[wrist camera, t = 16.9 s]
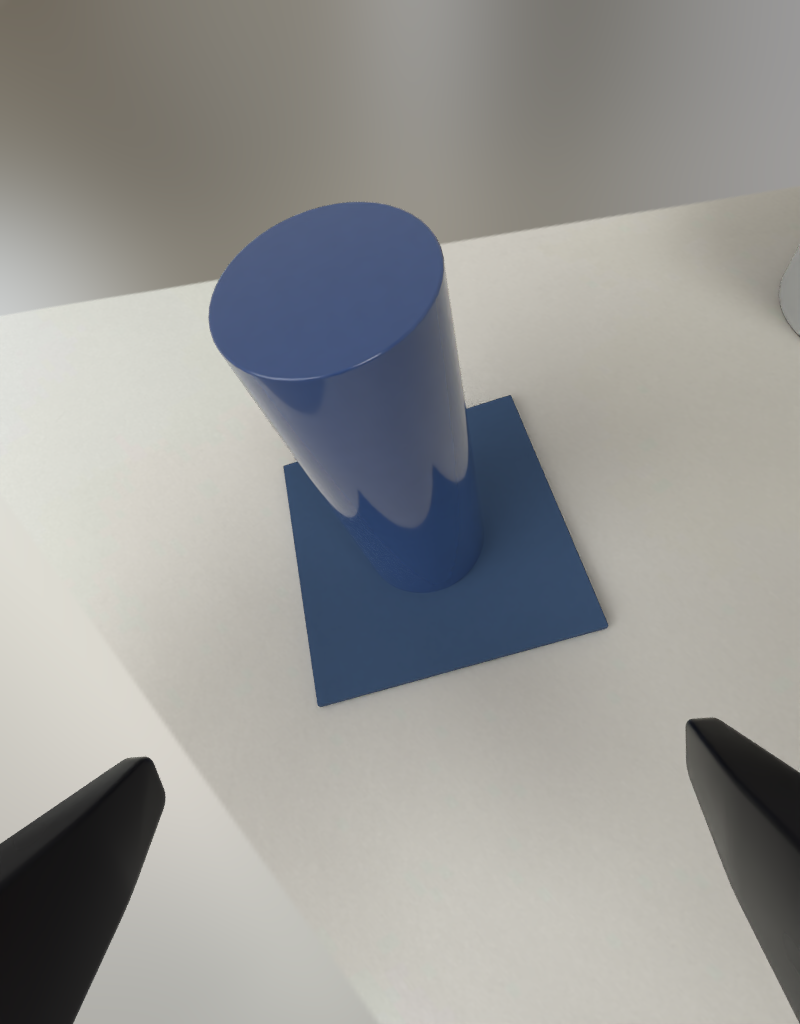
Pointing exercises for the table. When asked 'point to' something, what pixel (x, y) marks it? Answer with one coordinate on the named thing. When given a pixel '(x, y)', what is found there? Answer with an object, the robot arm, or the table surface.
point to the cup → (791, 292)
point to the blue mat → (458, 608)
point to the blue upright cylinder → (361, 380)
